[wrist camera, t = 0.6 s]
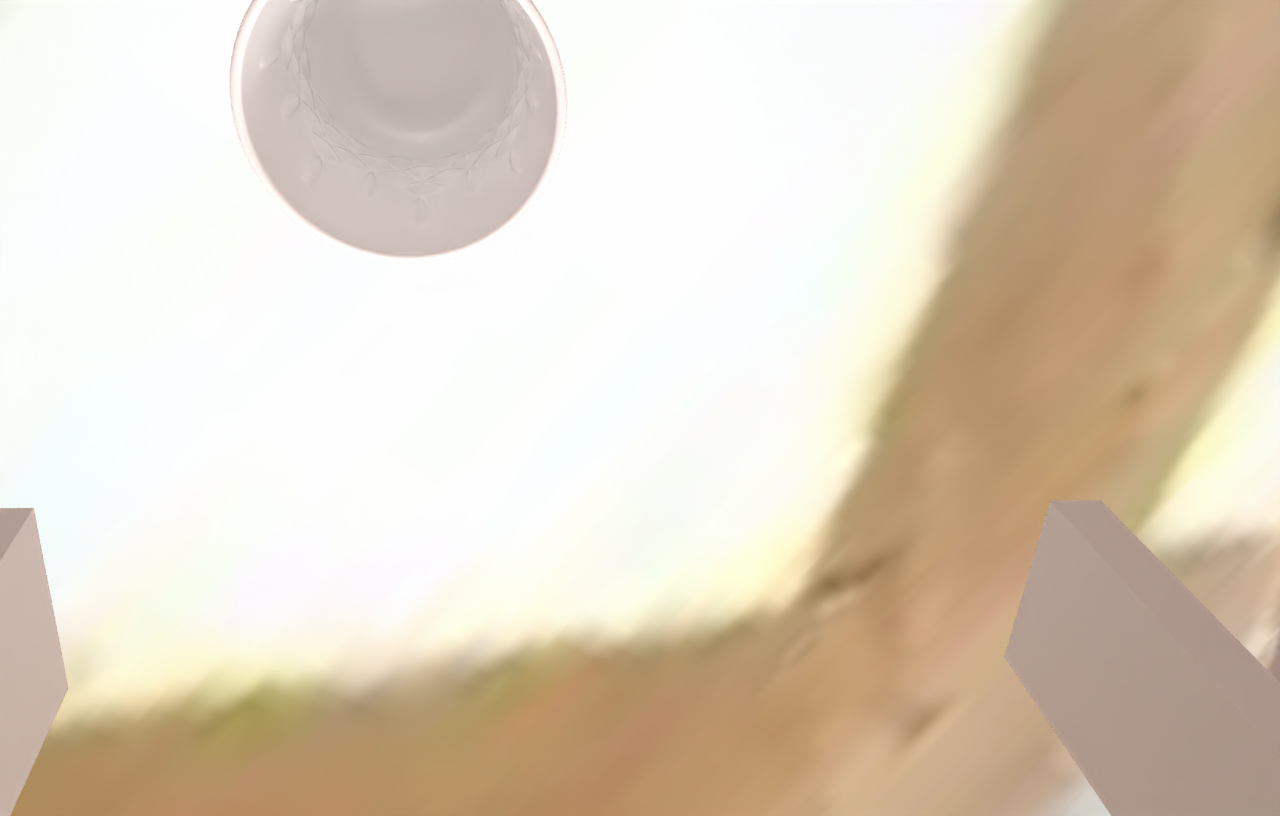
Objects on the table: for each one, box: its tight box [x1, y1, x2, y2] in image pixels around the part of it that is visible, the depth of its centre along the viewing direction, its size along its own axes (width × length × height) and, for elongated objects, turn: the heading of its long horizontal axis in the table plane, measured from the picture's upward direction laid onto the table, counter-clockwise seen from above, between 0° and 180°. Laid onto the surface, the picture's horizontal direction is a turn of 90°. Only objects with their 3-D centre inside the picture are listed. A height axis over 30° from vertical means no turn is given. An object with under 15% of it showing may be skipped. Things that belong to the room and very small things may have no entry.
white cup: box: [230, 0, 567, 263], centre depth 31 cm, size 8×8×10 cm
